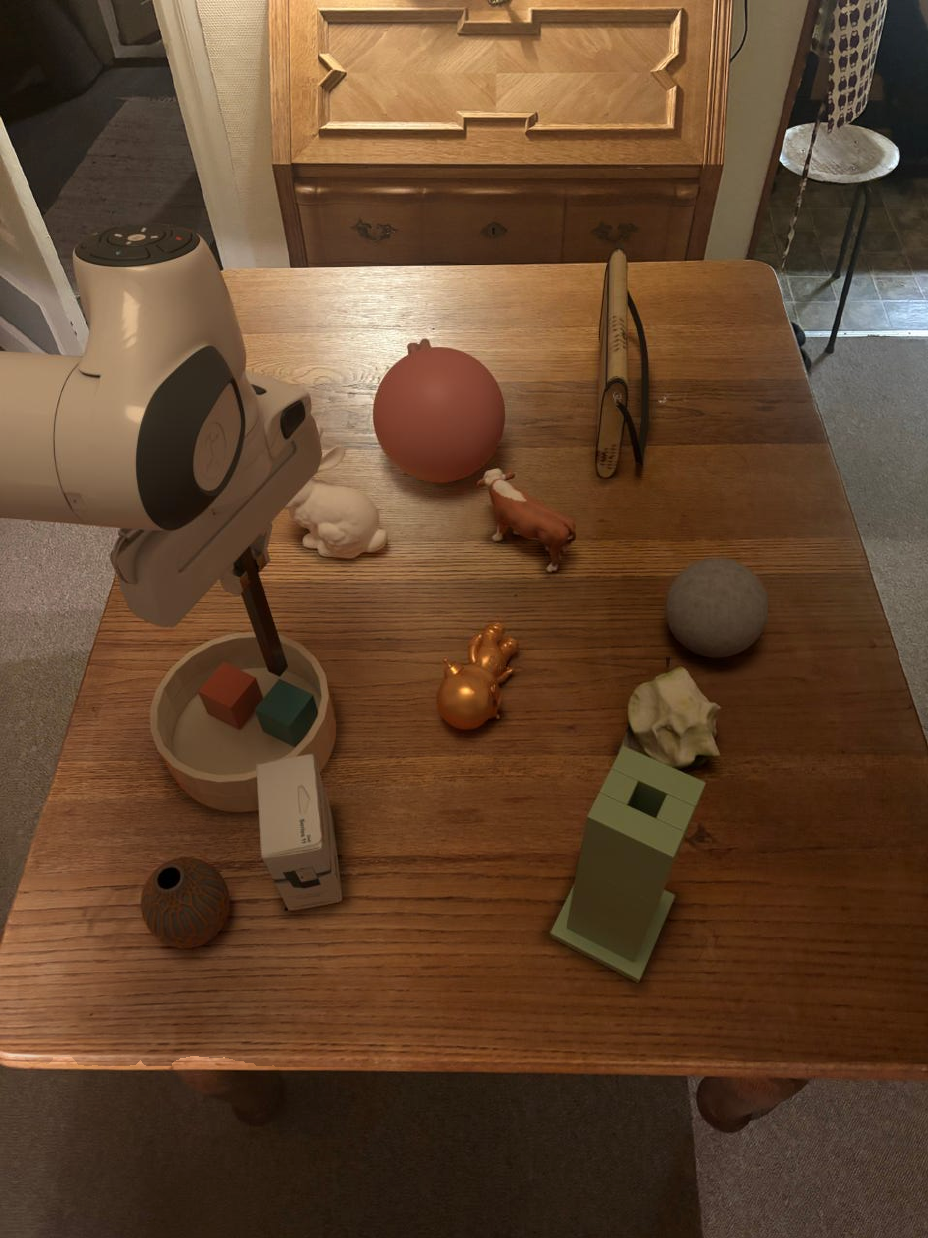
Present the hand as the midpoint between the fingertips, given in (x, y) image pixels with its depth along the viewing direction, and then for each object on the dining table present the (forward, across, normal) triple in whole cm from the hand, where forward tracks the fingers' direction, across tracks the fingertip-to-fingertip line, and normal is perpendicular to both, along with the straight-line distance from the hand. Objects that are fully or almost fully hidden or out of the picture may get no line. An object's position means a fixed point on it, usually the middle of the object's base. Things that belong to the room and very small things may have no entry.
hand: (247, 576), depth 75 cm
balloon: (+21, +40, +5) cm, 45 cm away
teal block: (+20, -2, -2) cm, 20 cm away
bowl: (+20, -4, +1) cm, 21 cm away
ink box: (+20, -12, -11) cm, 26 cm away
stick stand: (+20, -4, -37) cm, 42 cm away
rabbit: (+20, +22, +9) cm, 31 cm away
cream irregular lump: (+20, +14, -35) cm, 43 cm away
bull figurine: (+21, +31, -11) cm, 38 cm away
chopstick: (+13, 0, 0) cm, 13 cm away
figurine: (+20, +11, -16) cm, 28 cm away
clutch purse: (+21, +58, -12) cm, 62 cm away
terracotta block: (+17, -5, +4) cm, 19 cm away
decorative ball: (+21, +28, -34) cm, 48 cm away
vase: (+20, -21, -5) cm, 30 cm away
